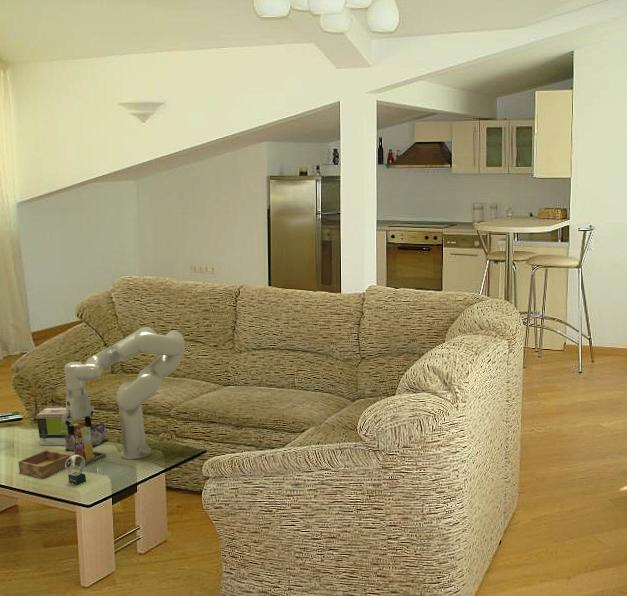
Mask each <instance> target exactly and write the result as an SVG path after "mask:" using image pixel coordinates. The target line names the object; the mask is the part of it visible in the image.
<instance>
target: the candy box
mask: <svg viewBox="0 0 627 596" xmlns="http://www.w3.org/2000/svg"><path fill="white" fill-rule="evenodd" d="M73 426H74V435H72V438H73V446H74V450H73V453H74V454H75V455H79V456H82V457H83V458H84V460H85V462H87V461H89V460H91V459H94V458H95V456H94V454H93V451H94V446H92V438H91V430H90V427H89V426H86V425H85V424H83V423H80V422H78V423H77V424H74V425H73ZM75 460H77V461H79V462H81V458H80V457H76V459H75Z"/></svg>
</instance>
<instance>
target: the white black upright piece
mask: <svg viewBox="0 0 627 596" xmlns="http://www.w3.org/2000/svg"><path fill="white" fill-rule="evenodd" d="M72 455H73V456H71V455H70V456H71V457H70V458H68V459H67V460H66V462H65V469H64V470H65V471H66V472H67V474H68V475H67V476H68V483H70V484H72V483H73V484H72V485H74V484H75V485H74V486H79V485H81V483H82V484H84V483H83V482H85V483H87V478H86V477H87V476H86V474H85V473H83V472H84V470H85V468H86V467H85V460H84V458H83V457H82V456H79V455H74V454H72ZM76 457H80V458H81V461H80V462H81V464H80V466H79V467H78V471H75V472H73V473H72V470H73V469H74V468H75V467H76V466H75V461H76V460H77V459H76Z"/></svg>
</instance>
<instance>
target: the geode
mask: <svg viewBox="0 0 627 596" xmlns="http://www.w3.org/2000/svg"><path fill="white" fill-rule="evenodd" d="M91 425H92V427H91V428H90V430H91V438H92V446H93V447H97V446H100V445H101V444H102V443H103V442H106V441H109V440H108V439H109V436H108V430H107V428H106V425H105V424H104V423H103V422H100V423H99V424H95V423H91ZM64 447H65V451H74V446H73V438H72V435H71V434H68V435H66V436H65V445H64Z"/></svg>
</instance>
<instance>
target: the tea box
mask: <svg viewBox="0 0 627 596" xmlns="http://www.w3.org/2000/svg"><path fill="white" fill-rule="evenodd" d="M39 412H40V413H38V412H37V413H38V414H37V428H38V435H39V442H40V444H39V445H41V446H65V436H66V435H68V428H67V425H66V424H65V423H64V422H63V420H62V416H63V415H64V414H65V413H66V407H46V408H44V409H42V410H41V411H39ZM70 422H71V420H70ZM77 423H79V420H76V421H75V420H74V422H73V425H74V424H77Z"/></svg>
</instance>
